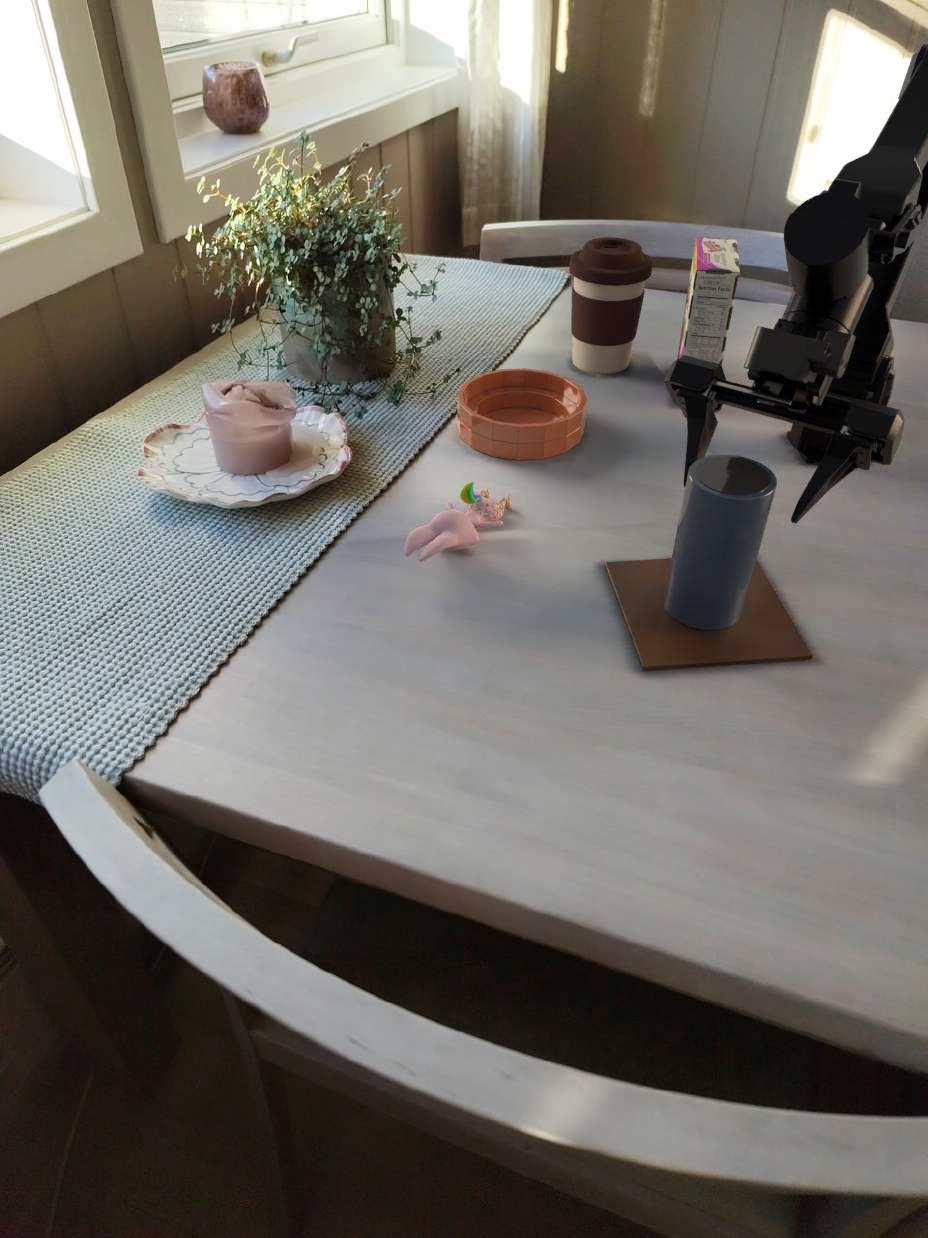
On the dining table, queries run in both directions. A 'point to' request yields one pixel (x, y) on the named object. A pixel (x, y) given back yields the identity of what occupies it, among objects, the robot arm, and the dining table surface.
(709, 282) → the candy bar box
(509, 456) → the bowl
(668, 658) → the board
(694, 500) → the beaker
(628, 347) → the coffee cup
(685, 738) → the dining table surface
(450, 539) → the rabbit figure
